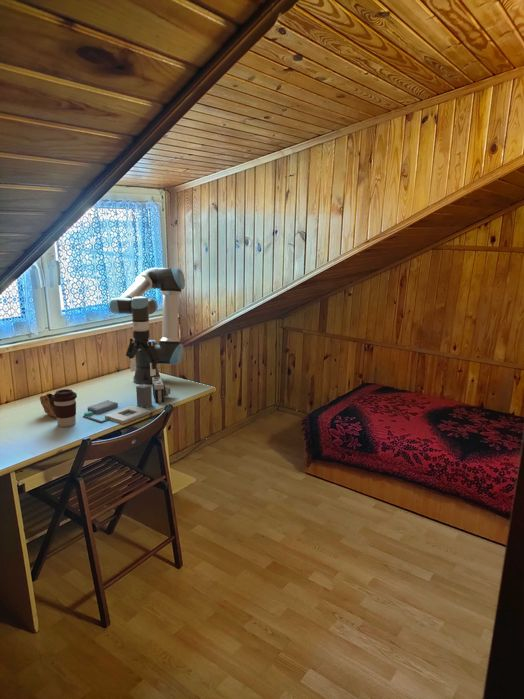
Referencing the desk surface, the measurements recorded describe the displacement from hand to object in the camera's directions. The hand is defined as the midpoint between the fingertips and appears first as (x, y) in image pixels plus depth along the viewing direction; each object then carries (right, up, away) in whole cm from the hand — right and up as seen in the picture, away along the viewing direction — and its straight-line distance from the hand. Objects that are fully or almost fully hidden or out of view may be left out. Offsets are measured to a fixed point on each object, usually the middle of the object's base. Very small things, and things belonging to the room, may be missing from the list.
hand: (143, 373), depth 223 cm
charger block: (0, -16, +4) cm, 16 cm away
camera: (+6, -14, +15) cm, 21 cm away
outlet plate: (-4, -19, -10) cm, 22 cm away
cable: (-18, -20, -13) cm, 30 cm away
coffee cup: (-28, -21, -20) cm, 41 cm away
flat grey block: (-19, -17, -2) cm, 26 cm away
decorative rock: (-38, -19, -10) cm, 44 cm away
